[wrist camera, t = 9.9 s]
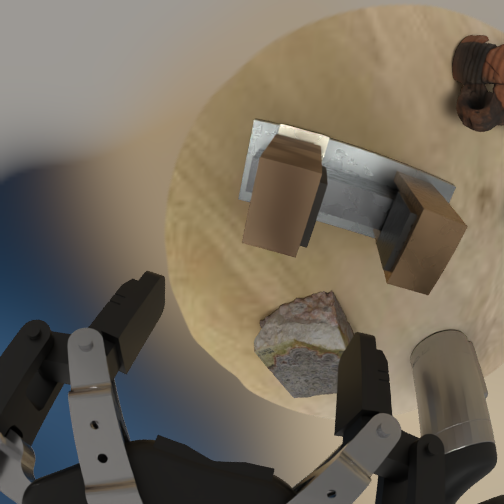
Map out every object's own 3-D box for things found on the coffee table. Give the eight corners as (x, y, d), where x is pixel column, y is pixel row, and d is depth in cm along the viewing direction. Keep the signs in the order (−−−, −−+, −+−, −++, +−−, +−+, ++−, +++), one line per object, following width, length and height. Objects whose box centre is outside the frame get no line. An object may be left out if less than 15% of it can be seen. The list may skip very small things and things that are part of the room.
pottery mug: (478, 14, 15) (550, 38, 9) (499, 86, 21) (557, 118, 15) (414, 73, 19) (498, 109, 13) (444, 147, 25) (506, 191, 19)
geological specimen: (297, 403, 41) (242, 346, 34) (302, 370, 45) (252, 308, 39) (369, 391, 36) (331, 325, 30) (368, 355, 41) (331, 285, 34)
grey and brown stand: (453, 182, 25) (495, 226, 17) (421, 251, 29) (445, 309, 22) (256, 116, 26) (229, 135, 18) (240, 197, 31) (211, 245, 23)
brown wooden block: (261, 199, 29) (241, 242, 22) (276, 134, 25) (259, 157, 19) (308, 212, 29) (303, 259, 22) (327, 148, 25) (331, 176, 18)
